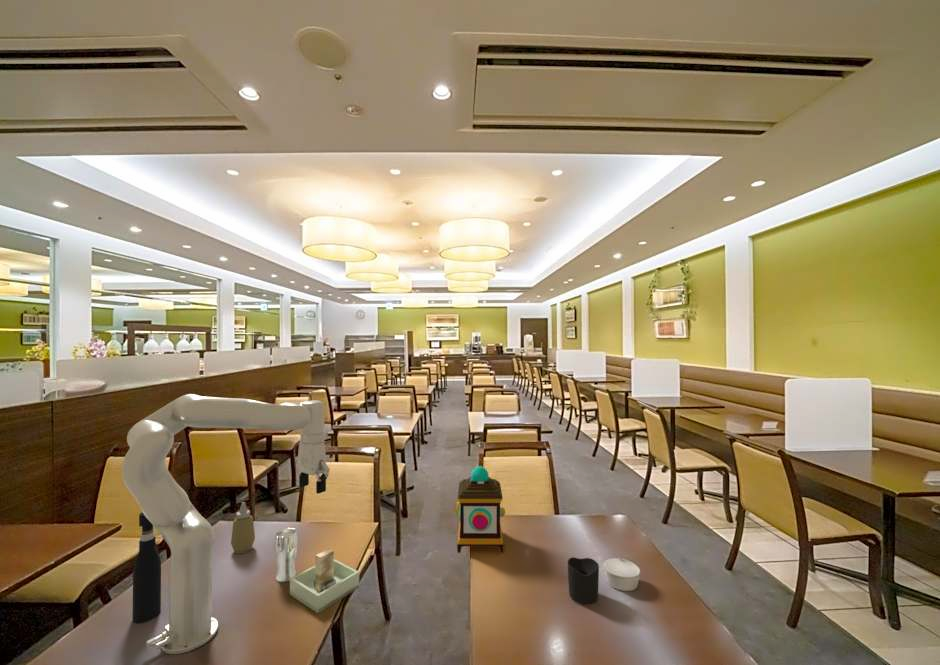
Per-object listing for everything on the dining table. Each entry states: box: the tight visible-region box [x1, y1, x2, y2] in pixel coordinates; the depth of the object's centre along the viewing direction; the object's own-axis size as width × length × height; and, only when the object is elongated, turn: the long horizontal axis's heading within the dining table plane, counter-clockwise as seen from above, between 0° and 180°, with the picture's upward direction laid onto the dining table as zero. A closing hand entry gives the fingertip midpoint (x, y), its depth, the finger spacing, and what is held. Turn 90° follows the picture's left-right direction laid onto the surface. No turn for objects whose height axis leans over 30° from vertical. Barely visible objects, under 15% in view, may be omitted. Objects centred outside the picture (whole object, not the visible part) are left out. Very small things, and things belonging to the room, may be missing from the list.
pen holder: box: [567, 556, 600, 605], centre depth 125 cm, size 9×9×10 cm
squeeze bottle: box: [230, 501, 256, 554], centre depth 154 cm, size 8×8×18 cm
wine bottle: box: [132, 511, 162, 624], centre depth 117 cm, size 6×6×30 cm
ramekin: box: [603, 557, 641, 592], centre depth 132 cm, size 11×11×5 cm
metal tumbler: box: [274, 527, 298, 583], centre depth 136 cm, size 7×7×15 cm
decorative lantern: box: [454, 465, 506, 554], centre depth 159 cm, size 20×20×30 cm
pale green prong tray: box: [289, 558, 360, 614], centre depth 128 cm, size 15×15×5 cm
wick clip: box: [314, 579, 336, 591], centre depth 128 cm, size 4×6×2 cm
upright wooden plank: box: [315, 548, 335, 593], centre depth 128 cm, size 5×2×11 cm, turn 142°
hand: (312, 489), depth 134 cm, fingers open, 9 cm apart
